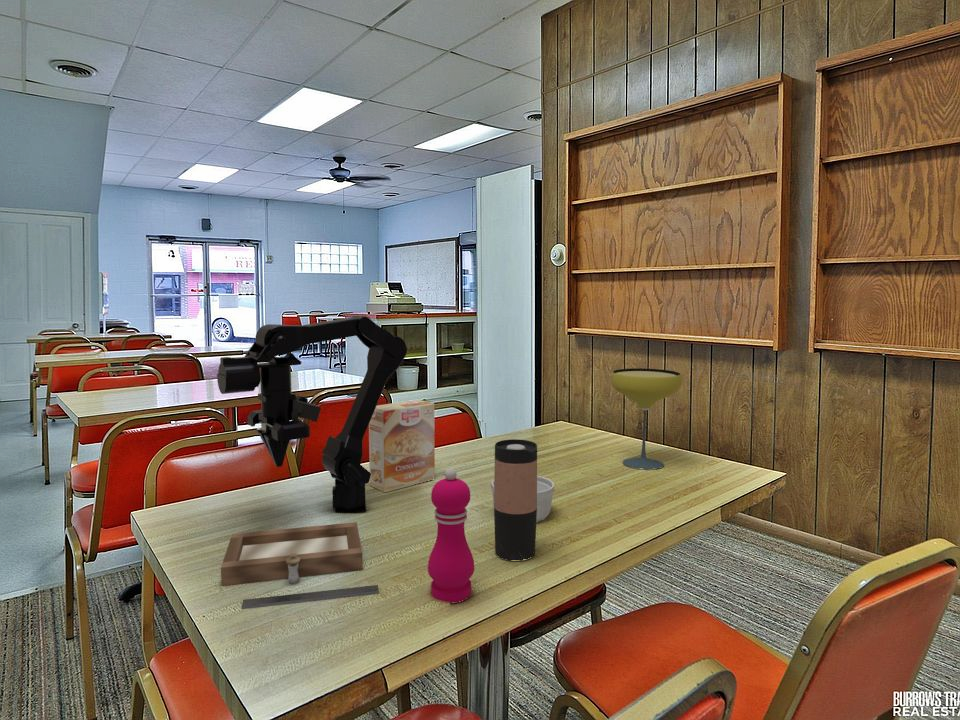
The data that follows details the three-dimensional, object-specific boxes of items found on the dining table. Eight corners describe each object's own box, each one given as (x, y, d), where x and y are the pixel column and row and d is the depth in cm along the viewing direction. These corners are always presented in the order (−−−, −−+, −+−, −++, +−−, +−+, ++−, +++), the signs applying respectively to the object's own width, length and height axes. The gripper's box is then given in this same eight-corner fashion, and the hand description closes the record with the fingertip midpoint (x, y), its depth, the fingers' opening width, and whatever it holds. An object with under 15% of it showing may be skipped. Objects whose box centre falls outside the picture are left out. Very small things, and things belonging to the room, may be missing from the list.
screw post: (299, 581, 100) (298, 560, 100) (298, 585, 99) (298, 565, 98) (289, 582, 100) (288, 561, 100) (288, 587, 98) (287, 566, 98)
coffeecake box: (384, 493, 144) (383, 410, 141) (368, 485, 149) (366, 406, 147) (436, 480, 153) (435, 402, 151) (419, 473, 159) (418, 398, 156)
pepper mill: (447, 578, 101) (446, 459, 99) (483, 591, 97) (483, 467, 95) (418, 596, 95) (417, 470, 93) (455, 610, 91) (455, 479, 89)
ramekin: (559, 508, 134) (560, 476, 133) (545, 530, 122) (546, 496, 121) (501, 501, 139) (501, 470, 138) (482, 522, 126) (482, 489, 125)
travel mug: (491, 545, 115) (492, 439, 112) (532, 543, 115) (533, 438, 113) (496, 563, 107) (496, 450, 105) (539, 561, 108) (541, 449, 105)
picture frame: (357, 537, 117) (356, 518, 117) (363, 576, 101) (363, 554, 101) (232, 549, 111) (231, 529, 111) (219, 593, 96) (218, 570, 95)
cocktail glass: (689, 463, 168) (693, 372, 165) (659, 478, 155) (663, 379, 152) (629, 451, 180) (631, 366, 177) (596, 465, 166) (598, 373, 164)
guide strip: (377, 589, 98) (377, 584, 98) (378, 595, 96) (378, 590, 96) (243, 604, 93) (243, 599, 93) (241, 611, 91) (241, 606, 91)
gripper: (334, 391, 119) (336, 470, 121) (298, 379, 133) (300, 450, 135) (277, 397, 112) (280, 480, 114) (245, 384, 127) (248, 458, 129)
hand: (279, 466), depth 123 cm, fingers closed
